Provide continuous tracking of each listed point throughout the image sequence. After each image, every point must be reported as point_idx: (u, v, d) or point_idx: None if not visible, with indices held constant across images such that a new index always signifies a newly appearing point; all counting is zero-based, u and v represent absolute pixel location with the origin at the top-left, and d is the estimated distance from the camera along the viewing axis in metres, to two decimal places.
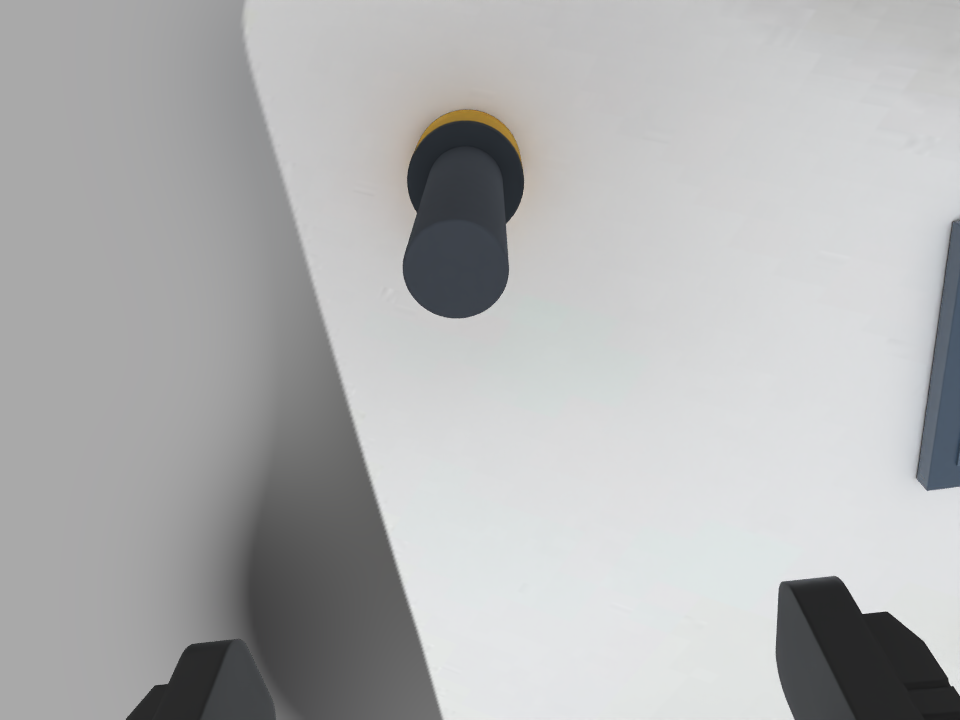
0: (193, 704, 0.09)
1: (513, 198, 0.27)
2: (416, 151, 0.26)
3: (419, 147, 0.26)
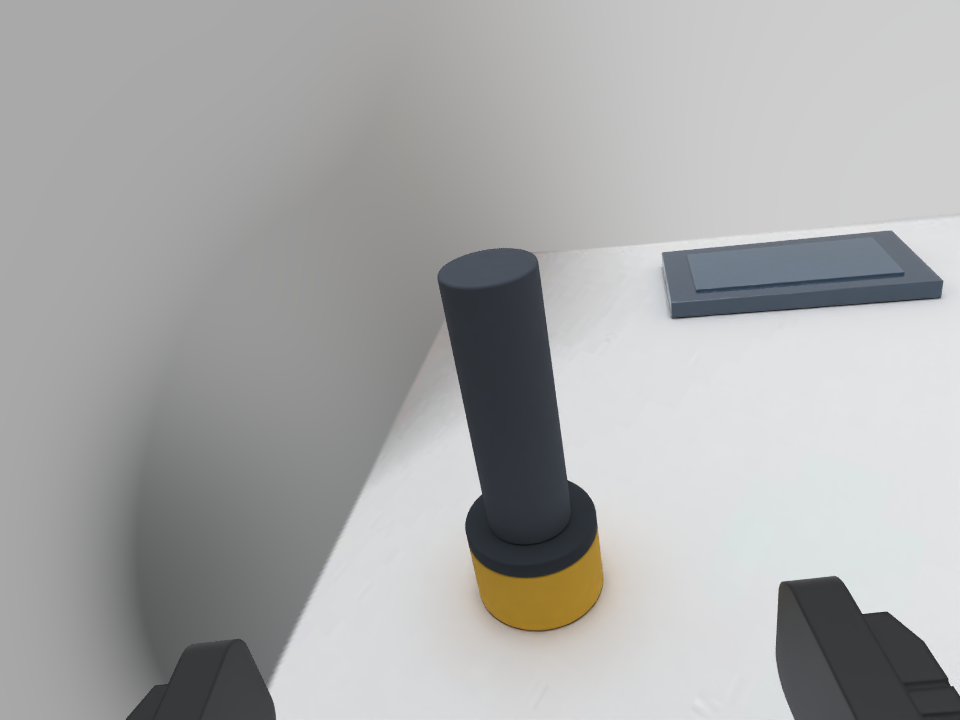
0: (193, 704, 0.09)
1: None
2: (479, 550, 0.22)
3: (476, 546, 0.23)
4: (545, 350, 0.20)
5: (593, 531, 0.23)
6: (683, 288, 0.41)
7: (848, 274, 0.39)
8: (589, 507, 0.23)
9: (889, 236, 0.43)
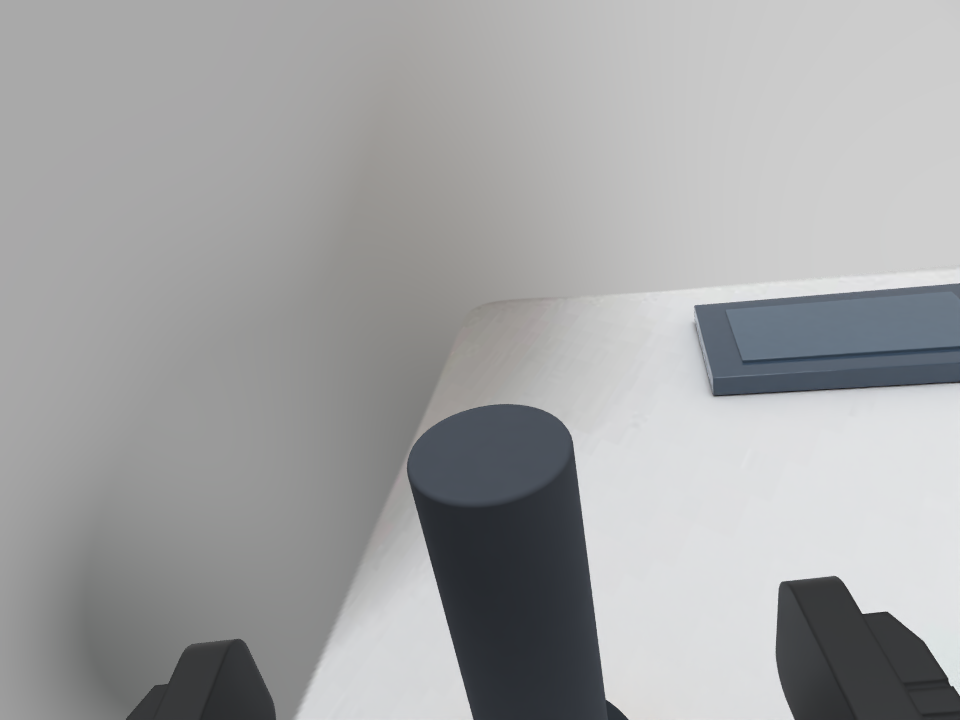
0: (193, 704, 0.09)
1: None
2: None
3: None
4: (583, 575, 0.12)
5: None
6: (726, 357, 0.34)
7: (933, 344, 0.32)
8: None
9: None
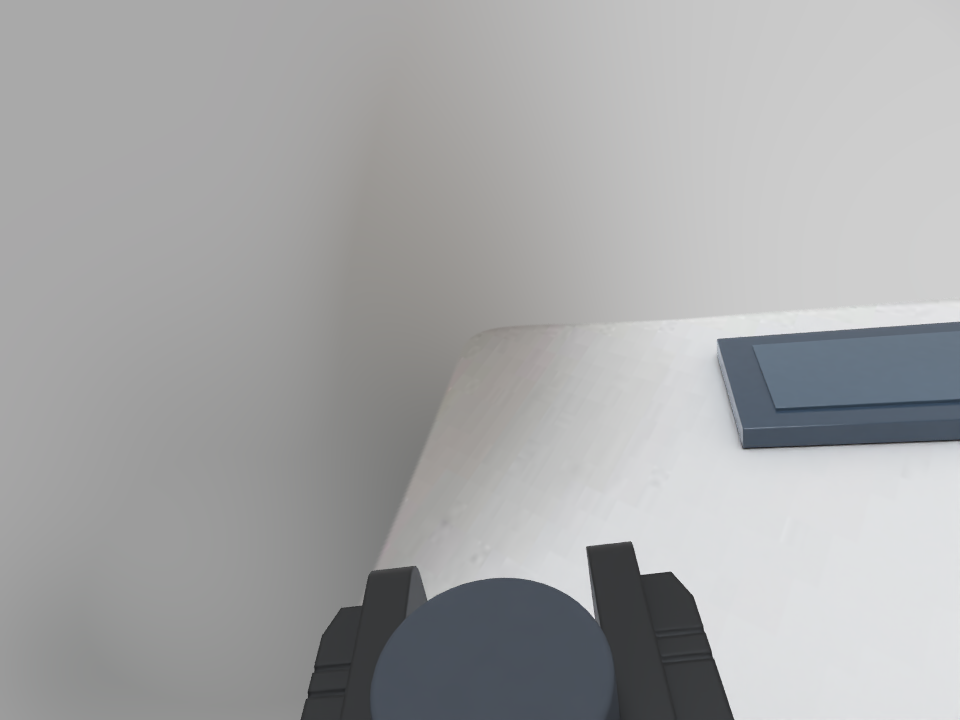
0: (393, 618, 0.10)
1: None
2: None
3: None
4: None
5: None
6: (756, 404, 0.30)
7: None
8: None
9: None
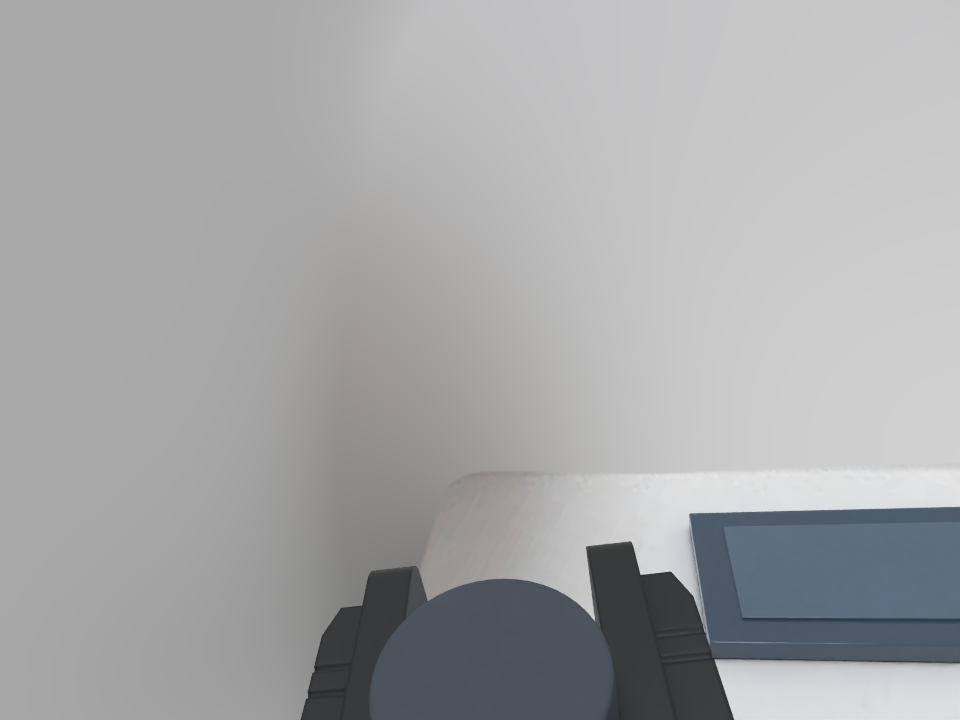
0: (393, 618, 0.10)
1: None
2: None
3: None
4: None
5: None
6: (724, 609, 0.31)
7: (953, 612, 0.29)
8: None
9: None
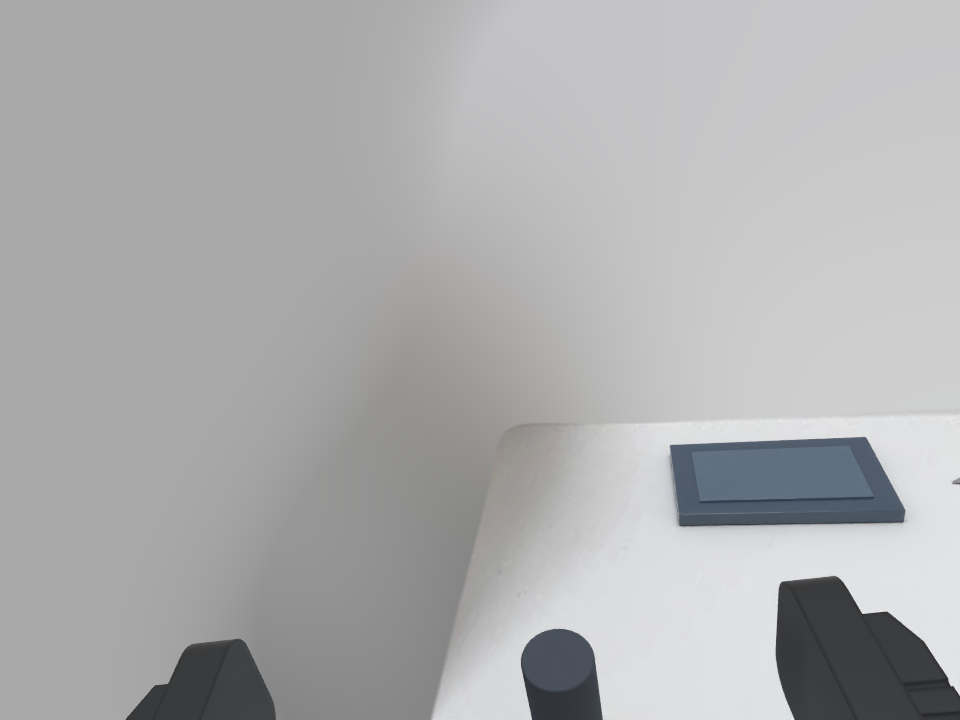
0: (193, 704, 0.09)
1: None
2: None
3: None
4: (598, 711, 0.27)
5: None
6: (689, 497, 0.49)
7: (827, 494, 0.47)
8: None
9: (863, 445, 0.51)
